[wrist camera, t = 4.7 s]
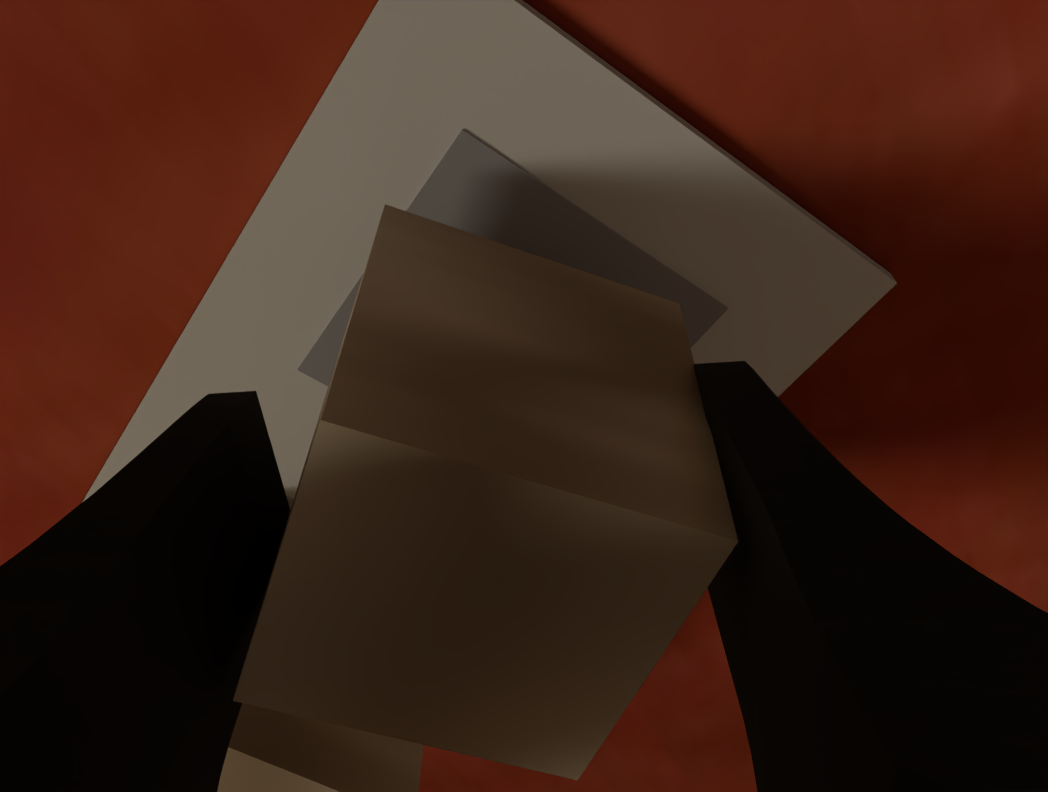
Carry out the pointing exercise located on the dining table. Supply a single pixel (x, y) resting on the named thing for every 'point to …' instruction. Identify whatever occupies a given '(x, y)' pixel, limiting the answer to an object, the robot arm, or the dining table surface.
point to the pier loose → (492, 507)
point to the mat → (500, 215)
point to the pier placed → (314, 757)
